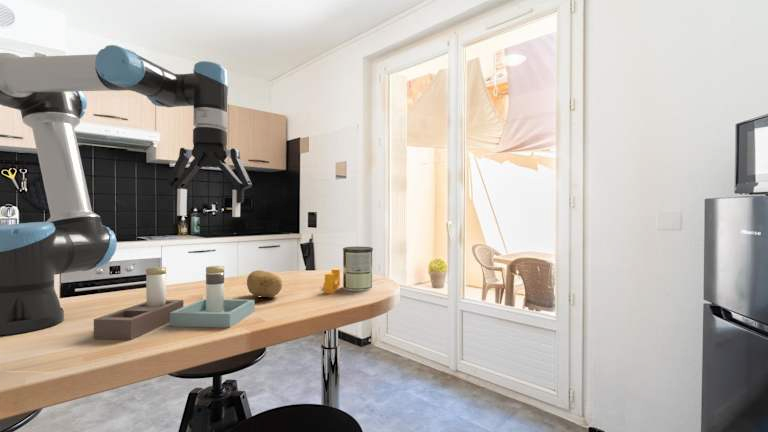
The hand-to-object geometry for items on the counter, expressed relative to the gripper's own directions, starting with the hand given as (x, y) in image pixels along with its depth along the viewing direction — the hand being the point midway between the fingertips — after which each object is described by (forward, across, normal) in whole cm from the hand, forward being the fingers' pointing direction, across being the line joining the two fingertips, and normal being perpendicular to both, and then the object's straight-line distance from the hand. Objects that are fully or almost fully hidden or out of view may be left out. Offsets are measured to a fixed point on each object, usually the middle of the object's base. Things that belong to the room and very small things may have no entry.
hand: (208, 216), depth 92 cm
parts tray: (+25, +2, 0) cm, 25 cm away
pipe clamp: (+25, +23, +36) cm, 50 cm away
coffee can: (+25, +32, +40) cm, 57 cm away
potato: (+25, +6, +24) cm, 35 cm away
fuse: (+25, -11, -3) cm, 27 cm away
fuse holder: (+25, -11, -7) cm, 28 cm away
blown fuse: (+24, +2, 0) cm, 24 cm away
